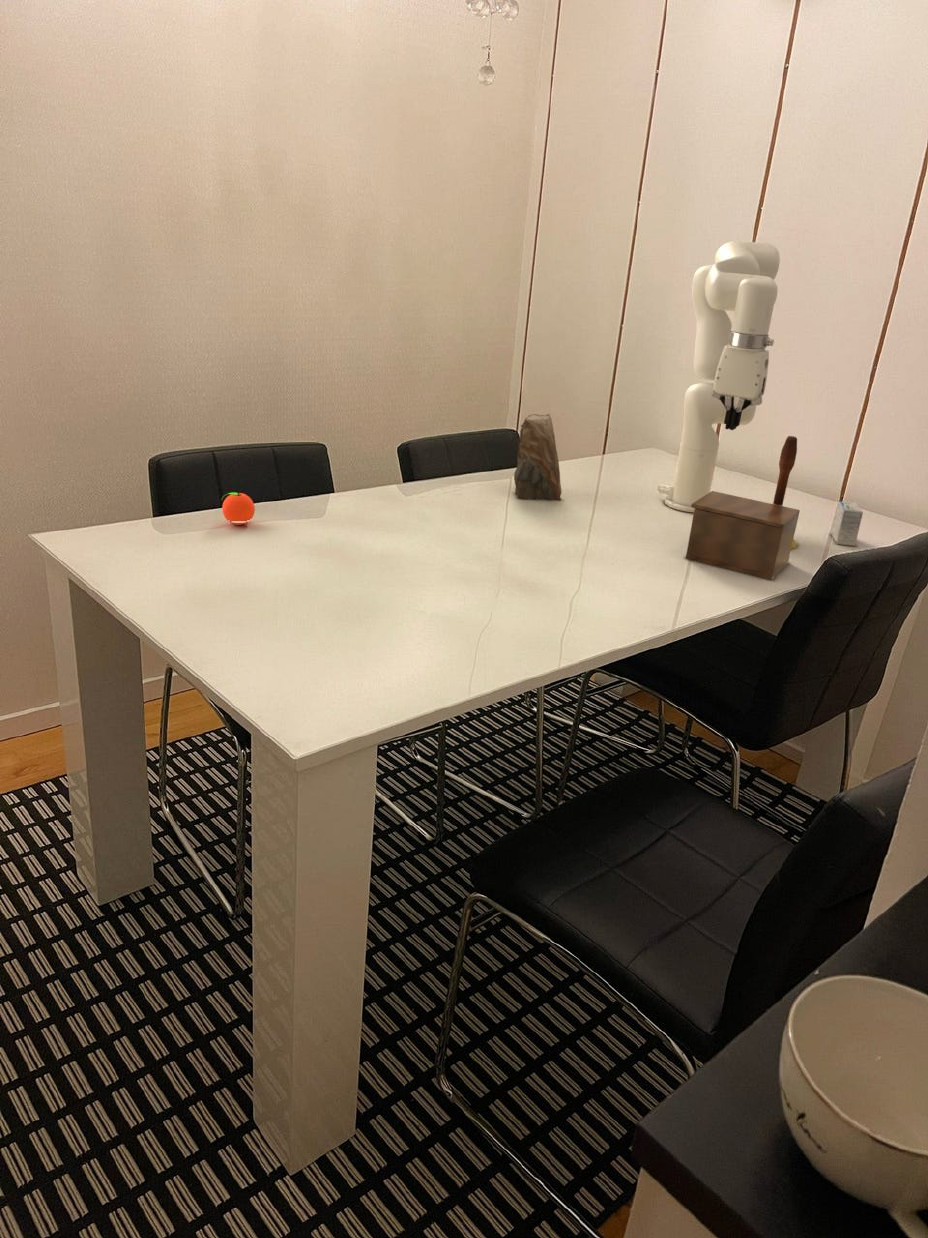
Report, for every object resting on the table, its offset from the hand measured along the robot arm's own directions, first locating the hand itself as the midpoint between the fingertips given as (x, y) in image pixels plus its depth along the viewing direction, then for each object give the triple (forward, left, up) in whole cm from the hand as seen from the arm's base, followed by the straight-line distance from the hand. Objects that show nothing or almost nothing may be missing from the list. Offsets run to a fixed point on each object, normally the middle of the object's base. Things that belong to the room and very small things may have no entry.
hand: (730, 428), depth 203 cm
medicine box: (+24, +30, -28) cm, 47 cm away
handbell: (+10, +16, -28) cm, 34 cm away
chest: (+8, -4, -28) cm, 29 cm away
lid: (+7, -4, -16) cm, 18 cm away
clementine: (-87, -61, -28) cm, 110 cm away
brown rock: (-49, +9, -28) cm, 57 cm away
